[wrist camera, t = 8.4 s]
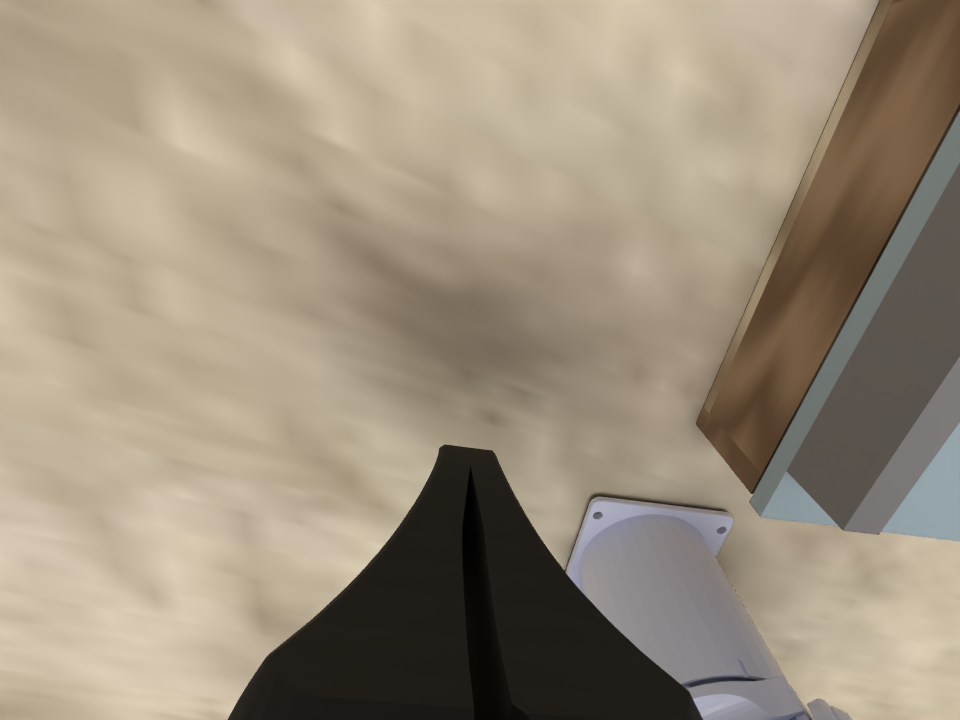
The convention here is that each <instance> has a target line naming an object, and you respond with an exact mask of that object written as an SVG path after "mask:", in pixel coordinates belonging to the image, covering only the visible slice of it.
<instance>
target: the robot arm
mask: <svg viewBox="0 0 960 720" xmlns="http://www.w3.org/2000/svg"><path fill="white" fill-rule="evenodd" d="M596 512H600V513H598V514H594V513H596ZM733 523H734V519H733V517H732V516H731V515H730V514H729V513H728V512H722V511H714V510H706V509H698V508H690V507H682V506H673V505H665V504H657V503H649V502H641V501H633V500H624V499H616V498H608V497H596V498H594V499H592V500H591V502H590V504H589V506H588V509H587V512H586V515H585V518H584V521H583V524H582V526H581V529H580V532H579V535H578V538H577V541H576V544H575V546H574V549H573V552H572V555H571V558H570V561H569V564H568V566H567V569H566V572H565V571H564V570H563V569H562V567H561V566H560V565H559V563H558V562H557V561H556V559H555V558H554V557H553V555H552V554H551V553H550V551H549V550H548V548H547V547H546V546H545V544H544V543H543V541H542V540H541V538H540V537H539V535H538V534H537V532H536V530H535V529H534V527H533V526H532V524H531V523H530V521H529V519H528V518H527V516H526V514H525V513H524V511H523V509H522V507H521V506H520V504H519V502H518V500H517V498H516V497H515V495H514V493H513V491H512V489H511V487H510V485H509V483H508V481H507V479H506V477H505V475H504V473H503V471H502V468H501V466H500V464H499V462H498V459H497V457H496V455H495V453H494V452H493V451H491V450H483V449H475V448H467V447H460V446H452V445H443V446H442V447H440V448H439V454H438V457H437V460H436V463H435V466H434V468H433V470H432V472H431V474H430V477H429V479H428V480H427V482H426V484H425V486H424V488H423V490H422V491H421V493H420V495H419V497H418V498H417V500H416V502H415V503H414V505H413V506H412V508H411V509H410V511H409V512H408V514H407V515H406V517H405V518H404V520H403V521H402V523H401V524H400V526H399V527H398V528H397V530H396V531H395V532H394V534H393V535H392V536H391V538H390V539H389V540H388V541H387V543H386V544H385V545H384V546H383V548H382V549H381V550H380V551H379V552H378V554H377V555H376V556H375V557H374V558H373V559H372V560H371V561H370V563H369V564H368V565H367V566H366V567H365V568H364V569H363V570H362V572H361V573H360V574H359V575H358V576H357V577H356V578H355V579H354V580H353V581H352V582H351V583H350V584H349V585H348V586H347V587H346V588H345V589H344V590H343V591H342V592H341V593H340V594H339V595H338V596H337V597H335V598H334V599H333V600H332V601H331V602H330V603H329V604H328V605H327V606H326V607H325V608H324V609H323V610H322V611H321V612H320V613H319V614H317V615H316V616H315V617H314V618H313V619H312V620H311V621H309V622H308V623H307V624H306V625H305V626H303V627H302V628H301V629H300V630H298V631H297V632H296V633H295V634H293V635H292V636H291V637H290V638H289V639H287V640H286V641H285V642H284V643H282V644H281V645H280V646H279V647H277V648H276V649H275V650H274V651H273V652H271V653H270V654H269V655H268V656H267V657H266V658H265V660H264V661H263V663H262V664H261V666H260V667H259V669H258V670H257V672H256V673H255V675H254V676H253V678H252V679H251V681H250V682H249V684H248V685H247V687H246V688H245V690H244V692H243V693H242V695H241V697H240V698H239V700H238V702H237V703H236V705H235V707H234V709H233V711H232V713H231V714H230V716H229V718H228V720H852V719H851V718H850V716H849V715H848V713H846V712H844V711H842V710H840V709H838V708H836V707H834V706H829V705H828V704H827V703H826V702H825V700H823V699H816V700H814V701H812V702H810V703H808V704H807V706H808V708H809V710H810V712H811V713H812V715H813V717H814V718H813V717H812V715H811V714H810V712H809V711H808V709H807V708H806V707H805V705H804V704H803V702H802V701H801V699H800V698H799V697H798V695H797V694H796V692H795V691H794V690H793V688H792V687H791V685H790V684H789V682H788V681H787V679H786V677H785V676H784V674H783V672H782V671H781V669H780V667H779V665H778V664H777V662H776V660H775V659H774V657H773V655H772V653H771V652H770V650H769V648H768V647H767V645H766V643H765V641H764V640H763V638H762V636H761V635H760V633H759V631H758V630H757V628H756V626H755V624H754V623H753V621H752V619H751V618H750V616H749V614H748V612H747V611H746V609H745V607H744V606H743V604H742V602H741V600H740V599H739V597H738V595H737V594H736V592H735V590H734V588H733V587H732V585H731V583H730V582H729V580H728V578H727V577H726V575H725V573H724V571H723V570H722V568H721V566H720V565H719V563H718V561H717V559H716V558H715V557H716V556H717V554H718V552H719V550H720V548H721V546H722V544H723V542H724V541H725V539H726V537H727V535H728V533H729V531H730V529H731V527H732V526H733Z"/></svg>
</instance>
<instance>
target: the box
mask: <svg viewBox="0 0 960 720" xmlns="http://www.w3.org/2000/svg"><path fill="white" fill-rule="evenodd" d="M959 111H960V0H880V2H879V5H878V7H877V9H876V11H875V14H874V16H873V18H872V21H871V23H870V25H869V28H868V30H867V32H866V34H865V37H864V39H863V41H862V44H861V46H860V48H859V50H858V53H857V55H856V57H855V60H854V62H853V64H852V67H851V69H850V71H849V73H848V76H847V78H846V80H845V83H844V85H843V87H842V90H841V92H840V94H839V96H838V99H837V101H836V103H835V106H834V108H833V110H832V113H831V115H830V117H829V119H828V122H827V124H826V126H825V129H824V131H823V133H822V136H821V138H820V140H819V142H818V145H817V147H816V149H815V152H814V154H813V156H812V159H811V161H810V163H809V165H808V168H807V170H806V172H805V175H804V177H803V179H802V182H801V184H800V186H799V188H798V191H797V193H796V195H795V198H794V200H793V202H792V205H791V207H790V209H789V211H788V214H787V216H786V218H785V221H784V223H783V225H782V228H781V230H780V232H779V234H778V237H777V239H776V241H775V244H774V246H773V248H772V251H771V253H770V255H769V257H768V260H767V262H766V264H765V267H764V269H763V271H762V274H761V276H760V278H759V280H758V283H757V285H756V287H755V290H754V292H753V294H752V296H751V299H750V301H749V303H748V306H747V308H746V310H745V313H744V315H743V317H742V319H741V322H740V324H739V326H738V329H737V331H736V333H735V336H734V338H733V340H732V342H731V345H730V347H729V349H728V352H727V354H726V356H725V359H724V361H723V363H722V365H721V368H720V370H719V372H718V375H717V377H716V379H715V382H714V384H713V386H712V388H711V391H710V393H709V395H708V398H707V400H706V402H705V405H704V407H703V409H702V411H701V414H700V416H699V418H698V421H697V423H696V425H697V426H698V427H699V428H700V430H701V431H702V432H703V433H704V435H705V436H706V437H707V439H708V440H709V441H710V442H711V444H712V445H713V446H714V447H715V449H716V450H717V451H718V452H719V454H720V455H721V456H722V457H723V459H724V460H725V461H726V463H727V464H728V465H729V466H730V468H731V469H732V470H733V471H734V473H735V474H736V475H737V476H738V478H739V479H740V480H741V482H742V483H743V484H744V485H745V487H746V488H747V489H748V490H749V492H750V493H751V494H754V492H755V490H756V488H757V486H758V485H759V483H760V481H761V479H762V477H763V475H764V473H765V472H766V470H767V468H768V466H769V464H770V462H771V460H772V459H773V457H774V455H775V453H776V451H777V449H778V447H779V446H780V444H781V442H782V440H783V438H784V436H785V434H786V433H787V431H788V429H789V427H790V425H791V423H792V421H793V420H794V418H795V416H796V414H797V412H798V410H799V408H800V407H801V405H802V403H803V401H804V399H805V397H806V395H807V393H808V392H809V390H810V388H811V386H812V384H813V382H814V380H815V379H816V377H817V375H818V373H819V371H820V369H821V367H822V366H823V364H824V362H825V360H826V358H827V356H828V354H829V353H830V351H831V349H832V347H833V345H834V343H835V341H836V340H837V338H838V336H839V334H840V332H841V330H842V328H843V327H844V325H845V323H846V321H847V319H848V317H849V315H850V314H851V312H852V310H853V308H854V306H855V304H856V302H857V301H858V299H859V297H860V295H861V293H862V291H863V289H864V288H865V286H866V284H867V282H868V280H869V278H870V276H871V275H872V273H873V271H874V269H875V267H876V265H877V263H878V262H879V260H880V258H881V256H882V254H883V252H884V250H885V249H886V247H887V245H888V243H889V241H890V239H891V237H892V236H893V234H894V232H895V230H896V228H897V226H898V224H899V223H900V221H901V219H902V217H903V215H904V213H905V211H906V210H907V208H908V206H909V204H910V202H911V200H912V198H913V197H914V195H915V193H916V191H917V189H918V187H919V185H920V184H921V182H922V180H923V178H924V176H925V174H926V172H927V171H928V169H929V167H930V165H931V163H932V161H933V159H934V158H935V156H936V154H937V152H938V150H939V148H940V146H941V145H942V143H943V141H944V139H945V137H946V135H947V133H948V132H949V130H950V128H951V126H952V124H953V122H954V120H955V119H956V117H957V115H958V113H959Z"/></svg>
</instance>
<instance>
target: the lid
mask: <svg viewBox="0 0 960 720" xmlns="http://www.w3.org/2000/svg"><path fill="white" fill-rule="evenodd" d="M749 503H750V504H751V505H752V507H753V508H754V509H755V511H756V512H757V513H758V514H759V516H760V517H764V518H772V519H781V520H789V521H797V522H805V523H813V524H821V525H830V526H838V527H840V528H841V529H842V530H843V531H852V532H860V533H868V534H876V535H879V534H880V532H887V533H895V534H903V535H911V536H920V537H928V538H936V539H944V540H952V541H960V111H959V113H958V115H957V117H956V119H955V120H954V122H953V124H952V126H951V128H950V130H949V132H948V133H947V135H946V137H945V139H944V141H943V143H942V145H941V146H940V148H939V150H938V152H937V154H936V156H935V158H934V159H933V161H932V163H931V165H930V167H929V169H928V171H927V172H926V174H925V176H924V178H923V180H922V182H921V184H920V185H919V187H918V189H917V191H916V193H915V195H914V197H913V198H912V200H911V202H910V204H909V206H908V208H907V210H906V211H905V213H904V215H903V217H902V219H901V221H900V223H899V224H898V226H897V228H896V230H895V232H894V234H893V236H892V237H891V239H890V241H889V243H888V245H887V247H886V249H885V250H884V252H883V254H882V256H881V258H880V260H879V262H878V263H877V265H876V267H875V269H874V271H873V273H872V275H871V276H870V278H869V280H868V282H867V284H866V286H865V288H864V289H863V291H862V293H861V295H860V297H859V299H858V301H857V302H856V304H855V306H854V308H853V310H852V312H851V314H850V315H849V317H848V319H847V321H846V323H845V325H844V327H843V328H842V330H841V332H840V334H839V336H838V338H837V340H836V341H835V343H834V345H833V347H832V349H831V351H830V353H829V354H828V356H827V358H826V360H825V362H824V364H823V366H822V367H821V369H820V371H819V373H818V375H817V377H816V379H815V380H814V382H813V384H812V386H811V388H810V390H809V392H808V393H807V395H806V397H805V399H804V401H803V403H802V405H801V407H800V408H799V410H798V412H797V414H796V416H795V418H794V420H793V421H792V423H791V425H790V427H789V429H788V431H787V433H786V434H785V436H784V438H783V440H782V442H781V444H780V446H779V447H778V449H777V451H776V453H775V455H774V457H773V459H772V460H771V462H770V464H769V466H768V468H767V470H766V472H765V473H764V475H763V477H762V479H761V481H760V483H759V485H758V486H757V488H756V490H755V492H754V494H753V496H752V498H751V499H750V501H749Z"/></svg>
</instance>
